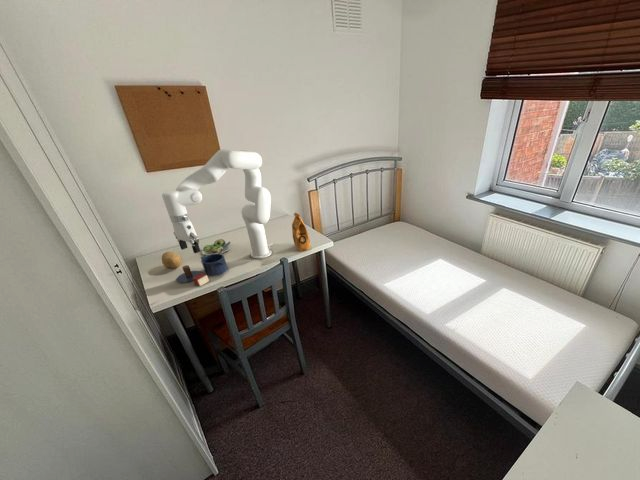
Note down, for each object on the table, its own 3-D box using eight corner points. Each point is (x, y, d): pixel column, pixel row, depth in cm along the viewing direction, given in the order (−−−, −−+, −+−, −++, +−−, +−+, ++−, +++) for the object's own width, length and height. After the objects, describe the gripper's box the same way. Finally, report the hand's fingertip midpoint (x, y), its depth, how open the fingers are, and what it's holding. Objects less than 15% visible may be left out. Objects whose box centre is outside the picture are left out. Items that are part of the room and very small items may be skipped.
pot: (214, 264, 172) (210, 251, 168) (235, 270, 166) (231, 256, 161) (197, 273, 163) (193, 259, 159) (219, 279, 157) (214, 266, 153)
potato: (168, 273, 163) (163, 261, 159) (161, 265, 172) (156, 253, 167) (187, 267, 169) (182, 255, 165) (179, 259, 177) (175, 247, 173)
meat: (204, 279, 157) (201, 273, 155) (209, 281, 155) (207, 274, 153) (195, 285, 153) (192, 278, 151) (200, 286, 151) (198, 280, 149)
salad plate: (234, 253, 183) (232, 247, 181) (203, 260, 176) (200, 253, 174) (230, 242, 198) (229, 236, 196) (201, 248, 191) (199, 241, 188)
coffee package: (296, 252, 183) (291, 219, 172) (293, 244, 193) (288, 212, 182) (311, 250, 186) (307, 217, 175) (308, 242, 196) (304, 210, 185)
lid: (192, 270, 166) (188, 259, 162) (207, 275, 161) (203, 263, 158) (172, 281, 157) (167, 269, 153) (187, 286, 152) (182, 274, 148)
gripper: (198, 218, 138) (209, 250, 146) (175, 213, 144) (186, 244, 153) (184, 223, 132) (195, 256, 141) (160, 217, 139) (172, 250, 147)
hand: (190, 250), depth 147 cm, fingers open, 9 cm apart
